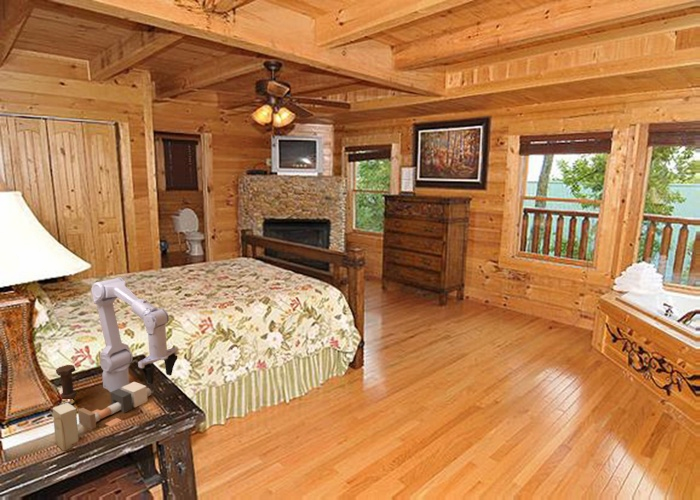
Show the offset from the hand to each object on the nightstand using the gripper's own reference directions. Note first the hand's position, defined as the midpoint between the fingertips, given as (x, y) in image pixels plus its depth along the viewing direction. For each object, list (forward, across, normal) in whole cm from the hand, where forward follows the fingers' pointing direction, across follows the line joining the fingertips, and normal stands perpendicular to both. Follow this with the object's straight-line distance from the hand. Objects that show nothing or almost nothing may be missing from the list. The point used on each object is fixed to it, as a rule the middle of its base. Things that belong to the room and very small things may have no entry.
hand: (159, 379), depth 149 cm
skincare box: (+10, -30, +5) cm, 32 cm away
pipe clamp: (+10, -12, +8) cm, 17 cm away
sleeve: (+9, -5, +8) cm, 13 cm away
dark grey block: (+9, -10, +8) cm, 15 cm away
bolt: (+10, -18, +27) cm, 34 cm away
